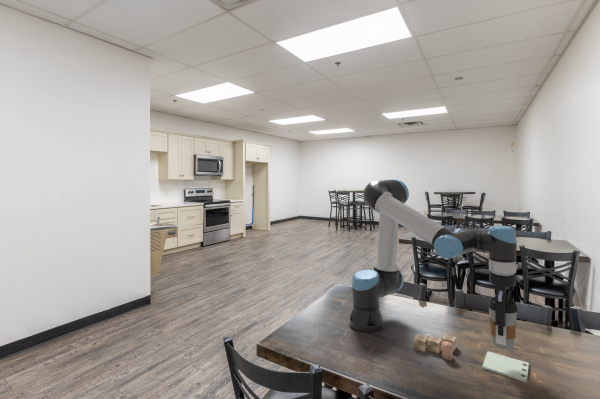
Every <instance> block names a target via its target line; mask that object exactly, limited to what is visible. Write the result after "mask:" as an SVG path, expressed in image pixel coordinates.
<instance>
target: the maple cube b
mask: <svg viewBox="0 0 600 399" xmlns="http://www.w3.org/2000/svg"><path fill="white" fill-rule="evenodd" d="M427 346H428V348H427V351H430V352H431V353H436V354H440V353H441V352H442V338H441V337H436V336H430V337H429V339H428V340H427Z"/></svg>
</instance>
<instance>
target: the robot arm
mask: <svg viewBox="0 0 600 399" xmlns="http://www.w3.org/2000/svg"><path fill="white" fill-rule="evenodd" d="M363 190H364V191H363V200H364V201H365V204H366V205H367V206H368V207H369V208H371V210H373V211H375V212H376V213H378V214H379V219H378V237H377V238H378V240H377V258H376V259H377V260H376V262H375V263H374V264H373V269H365V270H364V269H363V270H362V269H361V270H358V271H357V272H355V273H354V274H353V275H352V278H351V279H352V280H351V281H352V282H351V288H352V289H351V290H352V309H351V312H350V316H349V318H348V319H349V320H348V321H349V326H350V327H351V328H352V329H353V330H356V331H357V332H362V333H376V332H379V331H381V330H382V329H384V328H385V320H384V316H383V314H382V312H381V309H380V299H381V298H384V297H386V296H389V295H393V294H395V293H397V292H399V291H400V290H401V289H402V288H403V285H404V283H405V282H404V281H405V278H404V275H403V274H402V271H401V270H400V266H399V265H398V264H397V258H398V257H397V255H398V254H397V253H398V238H399V237H398V236H399V225H401V226H402V227H404V229H407V230H408V231H410V232H412V233H413V234H415V235H416V236H418V237H420V238H421V239H422V240H423V241H425V242H426V243H428V244H430V245H431V246H433V249H434V251H435V252H436V255H438V256H439V257H440V258H443V259H453V258H454V259H455V258H457V257H460V256H462V255H465V254H468V253H471V252H479V253H485V254H487V253H488V256H489V257H488V270H489V272H488V275H489V276H488V281H489V283H490V284H491V285H493V286H495V289H494V294H495V295H494V297H495V302H496V310H495V322H493V324H495V325H496V343H498V344H501V345H505V346H506V324H505V319H506V313H505V310H506V305H508V301H509V299H510V294H511V289H510V288H513V287H516V285H517V275H516V273H517V268H519V264H518V263H517V232H516V229H515V228H514V227H512V226H508V225H491V226H489V228H488V230H481V229H480V230H478V229H470V228H465V227H464V228H455V229H454V230H453V231H452V230H449V229H448V228H446V227H445V226H443V225H441V224H439V223H438V222H436V221H434V220H432V219H431V218H429V217H427V216H425V215H424V214H422V213H421V212H419V211H417V210H416V209H415V208H412V207H410V206H409V205H407V204H406V202H407V201H408V200H409V197H410V192H409V188H408V187H407V185H406V184H405V183H404V182H403V181H401V180H398V179H382V180H378V179H377V180H373V181H371V182H369V183H368V184H367V185H366V186H365V188H364V189H363Z"/></svg>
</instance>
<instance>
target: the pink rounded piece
mask: <svg viewBox="0 0 600 399" xmlns="http://www.w3.org/2000/svg"><path fill="white" fill-rule="evenodd" d="M453 355H454V354H453V344H452V343H450V342H448V341H443V342H442V349H441V358H442V359H444V360H446V361H452V360H453V359H454V356H453Z"/></svg>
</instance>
